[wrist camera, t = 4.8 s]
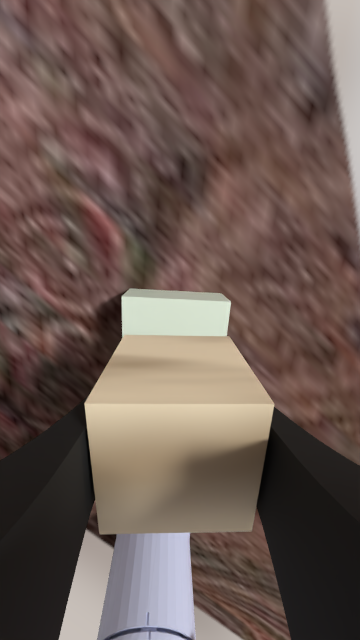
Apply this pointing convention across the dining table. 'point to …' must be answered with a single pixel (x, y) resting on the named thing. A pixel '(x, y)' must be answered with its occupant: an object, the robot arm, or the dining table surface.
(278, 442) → the robot arm
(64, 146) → the dining table surface
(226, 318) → the base block
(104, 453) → the maple cube
